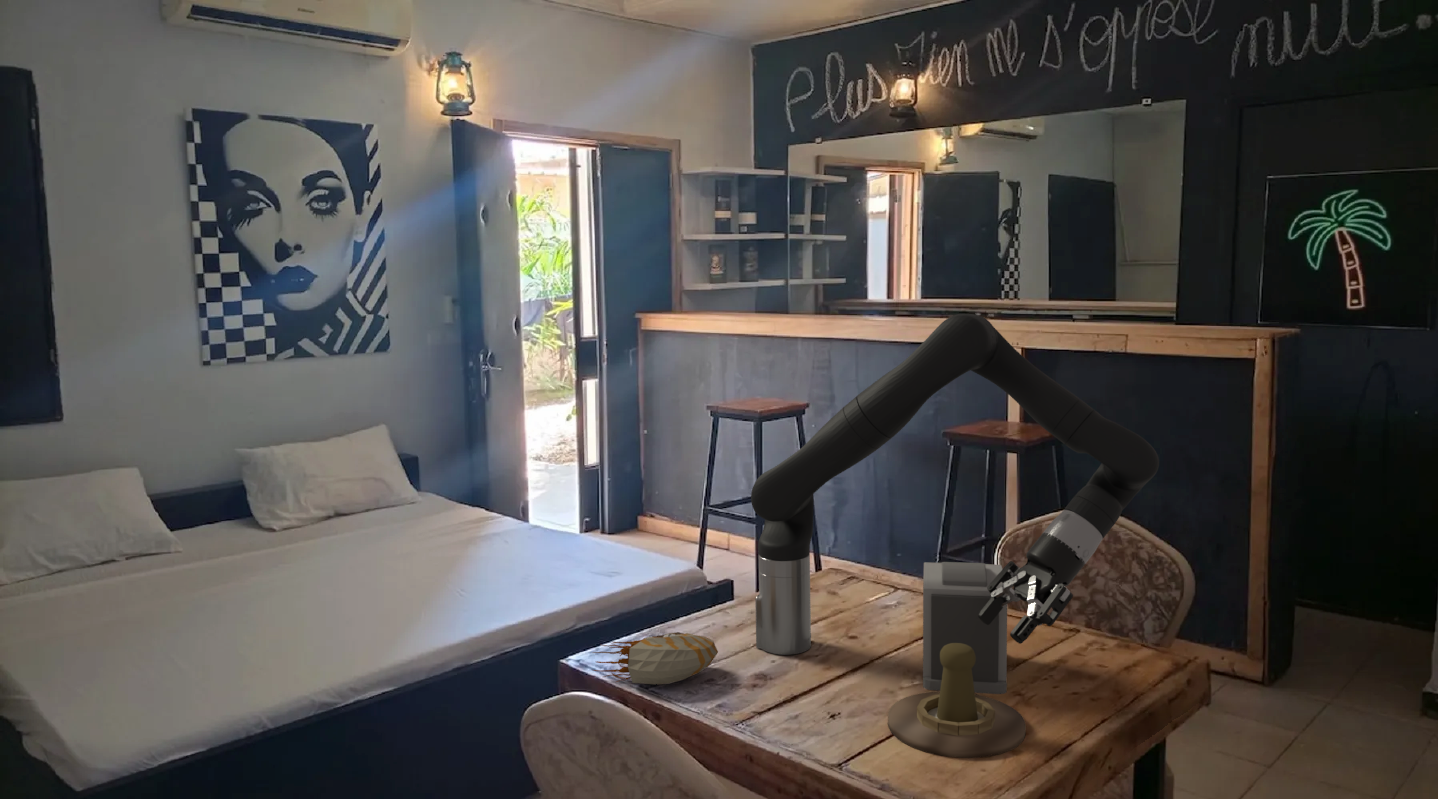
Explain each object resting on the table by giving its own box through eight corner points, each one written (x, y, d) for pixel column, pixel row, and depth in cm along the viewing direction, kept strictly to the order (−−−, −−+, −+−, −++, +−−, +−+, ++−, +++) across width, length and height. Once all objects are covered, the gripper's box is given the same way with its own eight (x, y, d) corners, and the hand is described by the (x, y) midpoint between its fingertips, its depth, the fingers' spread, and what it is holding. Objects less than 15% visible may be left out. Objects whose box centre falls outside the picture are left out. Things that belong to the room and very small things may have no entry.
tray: (872, 744, 149) (872, 726, 149) (905, 691, 168) (905, 675, 167) (1015, 767, 141) (1015, 749, 141) (1033, 709, 159) (1033, 692, 159)
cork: (979, 710, 157) (980, 640, 155) (976, 727, 151) (976, 655, 149) (939, 706, 159) (939, 636, 157) (934, 722, 153) (934, 651, 151)
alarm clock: (1007, 694, 165) (1008, 583, 163) (923, 689, 168) (923, 580, 166) (999, 652, 183) (1000, 551, 181) (923, 648, 186) (923, 549, 184)
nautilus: (579, 694, 171) (611, 664, 185) (705, 696, 166) (727, 665, 180) (575, 647, 170) (607, 621, 185) (701, 647, 165) (723, 620, 180)
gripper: (1022, 521, 162) (957, 601, 160) (1080, 543, 149) (1010, 631, 147) (1050, 550, 165) (987, 629, 163) (1110, 575, 151) (1042, 661, 149)
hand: (998, 630), depth 155 cm, fingers open, 8 cm apart
